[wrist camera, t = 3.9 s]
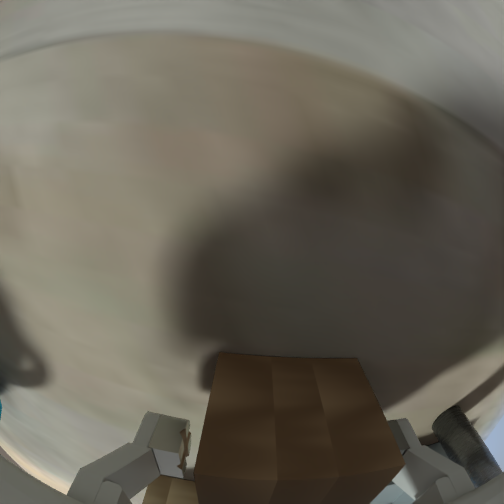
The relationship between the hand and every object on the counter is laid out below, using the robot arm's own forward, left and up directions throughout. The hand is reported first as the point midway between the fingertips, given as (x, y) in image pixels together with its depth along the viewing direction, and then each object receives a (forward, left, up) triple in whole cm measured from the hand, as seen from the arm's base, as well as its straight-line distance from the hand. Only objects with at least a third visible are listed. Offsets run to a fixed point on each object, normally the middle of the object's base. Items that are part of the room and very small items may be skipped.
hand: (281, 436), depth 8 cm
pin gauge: (-10, +2, -2) cm, 11 cm away
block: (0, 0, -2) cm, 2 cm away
